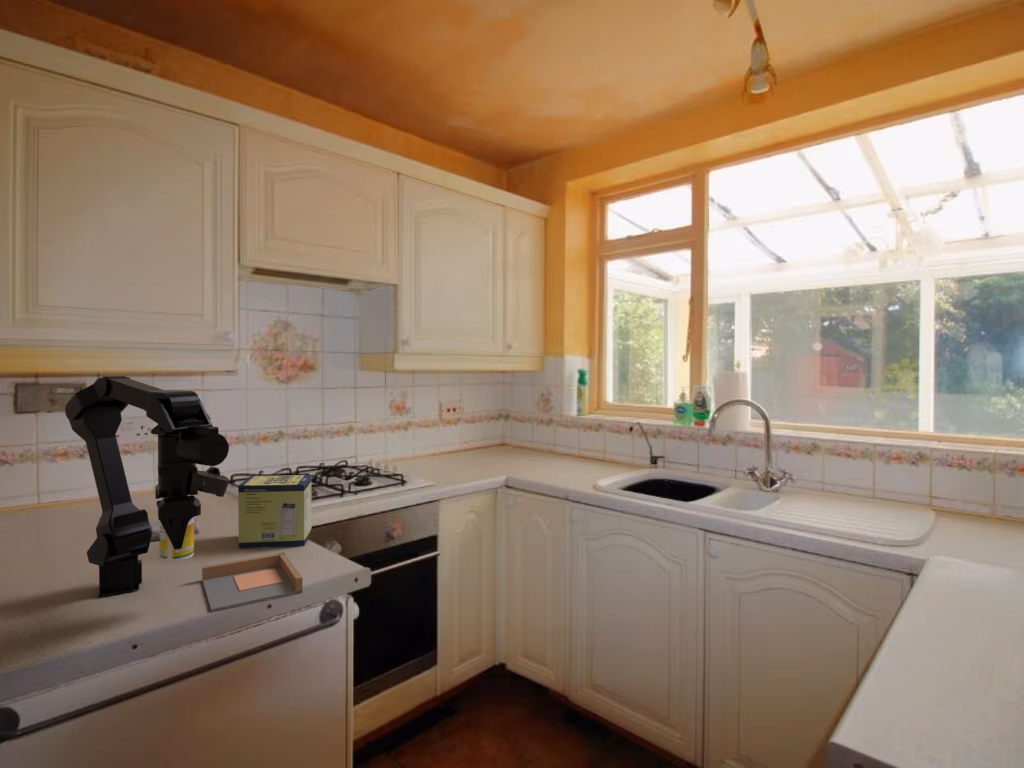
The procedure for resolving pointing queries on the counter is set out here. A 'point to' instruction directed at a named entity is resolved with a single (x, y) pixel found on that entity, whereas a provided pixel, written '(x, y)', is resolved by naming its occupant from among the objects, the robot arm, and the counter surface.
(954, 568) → the counter surface
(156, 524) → the grey rock
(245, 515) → the protein box
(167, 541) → the supplement bottle
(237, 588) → the tray
